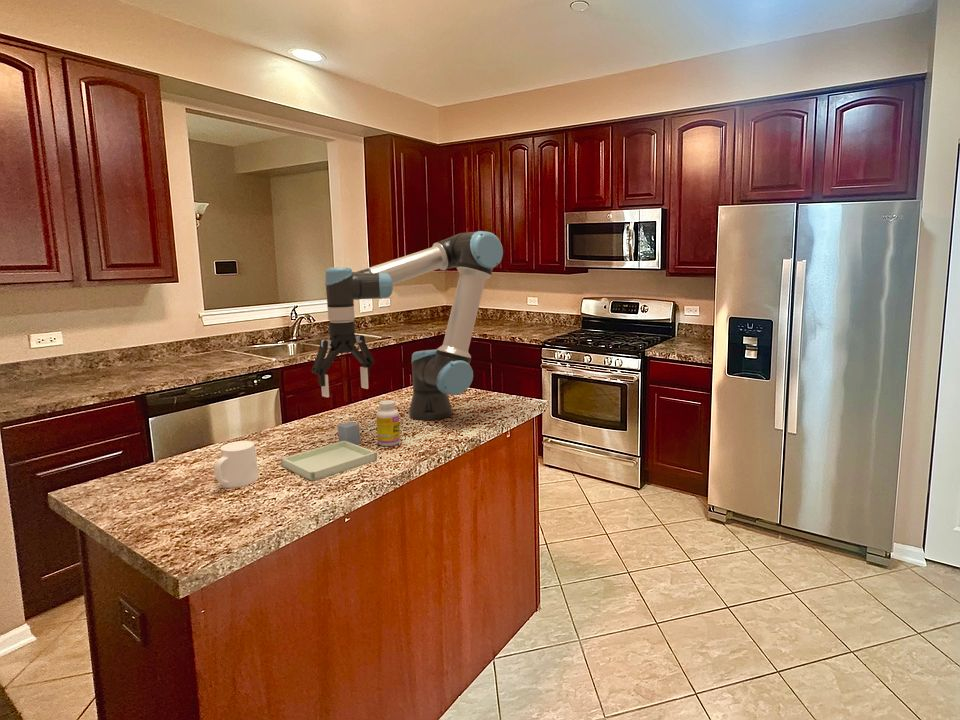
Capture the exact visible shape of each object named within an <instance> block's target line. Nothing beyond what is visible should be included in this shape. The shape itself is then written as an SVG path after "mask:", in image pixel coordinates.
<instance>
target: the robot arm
mask: <svg viewBox="0 0 960 720" xmlns="http://www.w3.org/2000/svg"><path fill="white" fill-rule="evenodd" d="M503 255H504V249H503V245H502V243H501V241H500V238H499V237H498V236H497V235H495V233H492V232H490V231H484V230H478V231H470V232H460V233H457V234H455V235H451V236H450V237H448V238H445V239H442V240H439V241H437V242H434V243H433V244H432V246H431V247H429V248H425V249H423V250H419V251H417V252H413V253H410V254H407V255H404V256H401V257H398V258H394V259H391V260H389V261H386V262H382V263H380V264H375V265H373V266H370V267H367V268H364V269H361V270H358V271H352V270H353V269H352V268H351V267H349V266H348V267H347V266H346V267H345V266H344V267H328V268H327V269H326V270H325V276H324V277H325V282H324V283H325V290H326V291H325V292H326V293H325V294H326V305H327V320H328V321H330V322H328V323H327V325H328V335H329V340H325V339H320V340H319V349H318V351H317V353H316V357H315V359H314V362H313V365H312V368H311V373H312V374H315V375H317V377H318V385H319V386H320V387H321V397H324V398H329V397H330V386H329V385H330V384H329V375H328V374H326V373H327V372H328V371H329V368H330V367H331V365H332V363H333V362H334V360H335V359H336V358H337V356H339V354H341V355H342V354H345V353H349V354H350V353H351V354H352V355H353V357H355V359H356V360H357V361H358V362H359V363H360V364H361V365H362V366H360V367H359V369H360V370H359V371H360V387H361V388H362V389H364V390H365V389H366V390H368V389H369V378H370V376H371V374H370V368H372V365H374V364H375V359H374V357H373V355H372V353H371V351H370V349H369V347H368V345H367V343H366V339H365V336H364V335H361V334H357V335H355V333H356V322H355V321H354V320H355V301H356V300H357V301H358V300H374V299H381V300H382V299H386V298H387V299H388V298H390V297H391V295H392V294H393V290H394V285H396V284H398V283H402V282H404V281H407V280H412V279H413V278H416V277H418V276H422V275H425V274H428V273H430V272H433V271H436V270H440V271H446V270H448V269H453V268H456V270H457V272H458V273H459V277H458V280H457V284H456V285H457V286H456V288H455V292H454V293H455V294H454V296H453V301H452V305H451V310H450V315H449V318H448V321H447V325H446V331H445V335H444V339H443V342H442V345H440V346H439V347H437V348H436V349H426V350H419V351H414V352H413V353H412V354H411V363H410V364H411V373H412V374H411V376H412V398H411V402H410V406H409V408H408V415H409V416H408V417H410V418H412V419H415V420H421V421H435V420H441V419H446V418H448V417H451V416H452V414H453V408H452V405H451V403H450V398H449V396H448V395H451V396H457V395H460V394H463V393H464V392H466V391H467V390H468V389H469V387H470V386H471V384H472V382H473V380H474V371H473V368H472V366H471V365H470V364H471V361H472V355H471V354H470V353H469V349H470V345H471V340H472V336H473V332H474V327H475V324H476V319H477V315H478V312H479V307H480V303H481V299H482V295H483V291H484V287H485V282H486V281H487V280H488V279H489V278H491V277H492V273H493V270H494V268H495V267H497V266H498V265H499V264H500V263H501V262H502V260H503ZM354 300H355V301H354ZM356 343H357V345H358V347H359V349H360V351H361V352H360V351H359V349H358V348H357V346H356V345H355V344H356ZM329 347H330V349H328V348H329Z"/></svg>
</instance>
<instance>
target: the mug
mask: <svg viewBox="0 0 960 720" xmlns="http://www.w3.org/2000/svg"><path fill="white" fill-rule="evenodd" d="M258 465H259V464H258V456H257V453H256V446H255V442H254V441H250V440H239V441H233V442H229V443H225V444H224V445H222V446H220V458H218V459H217V460H216V461H215V463H214V467H213V474H214V477H215V479H216V481H217V482H218V483H220V484H221V486H223V488H226V489H227V488H228V489H234V488H235V489H236V488H240V487H241V488H242V487H244V486H245V487H246V486H247V485H250V484H252V483H254V482H256V481H257V480H259V477H260V475H259V468H258Z"/></svg>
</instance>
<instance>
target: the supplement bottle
mask: <svg viewBox="0 0 960 720" xmlns="http://www.w3.org/2000/svg"><path fill="white" fill-rule="evenodd" d="M378 407H379V410H377V411H376V413H375V414H376V415H375V416H376V418H375V419H376V431H377V432H376V434H377V435H376V436H377V444H379V446H382V447H393V446H397V445H398V444H399V443H400V442H401V440H400V439H401V437H400V435H401V432H400V417H399V416H400V414H399V410H398V409H396V401H395V400H391V399H387V400H381V401H379V402H378Z"/></svg>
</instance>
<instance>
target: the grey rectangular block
mask: <svg viewBox="0 0 960 720" xmlns="http://www.w3.org/2000/svg"><path fill="white" fill-rule="evenodd" d="M337 432H338V442H340V441H344V440H345V441H347V442H350V443H353V444H355V445H359V444H361V439H360V438H361V437H360V424H359V423H355V422H352V421H347V422H344V423H340V424H338V425H337Z"/></svg>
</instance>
